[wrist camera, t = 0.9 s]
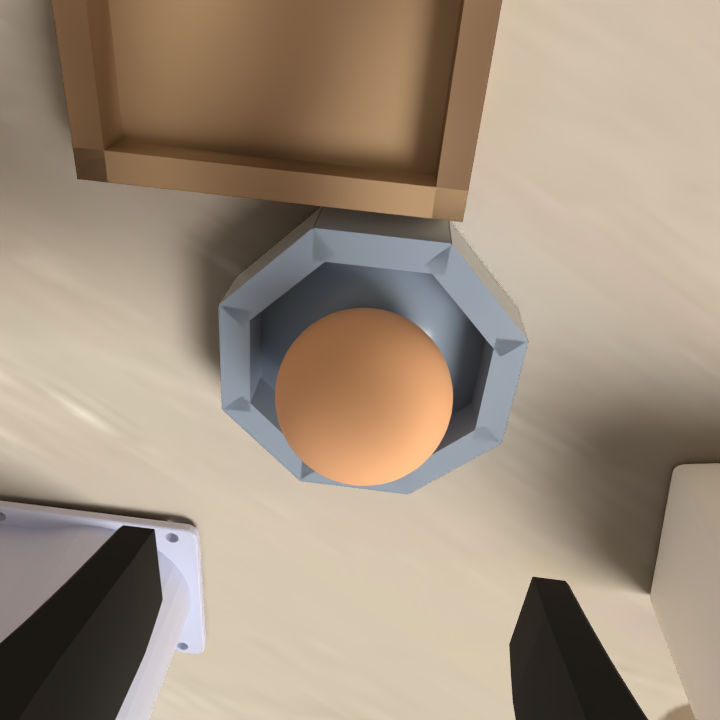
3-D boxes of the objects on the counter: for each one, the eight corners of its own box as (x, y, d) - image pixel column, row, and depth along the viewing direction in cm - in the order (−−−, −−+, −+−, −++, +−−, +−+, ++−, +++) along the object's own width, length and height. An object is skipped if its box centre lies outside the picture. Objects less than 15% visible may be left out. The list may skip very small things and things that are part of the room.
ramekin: (238, 435, 23) (223, 471, 21) (234, 195, 18) (215, 217, 16) (480, 464, 22) (485, 504, 21) (538, 229, 18) (551, 254, 16)
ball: (289, 406, 21) (256, 512, 17) (294, 270, 19) (257, 354, 14) (436, 424, 21) (440, 535, 17) (461, 289, 18) (474, 380, 14)
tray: (110, 160, 18) (77, 178, 16) (67, -209, 14) (16, -238, 12) (458, 199, 18) (462, 221, 16) (521, -166, 13) (535, -188, 12)
